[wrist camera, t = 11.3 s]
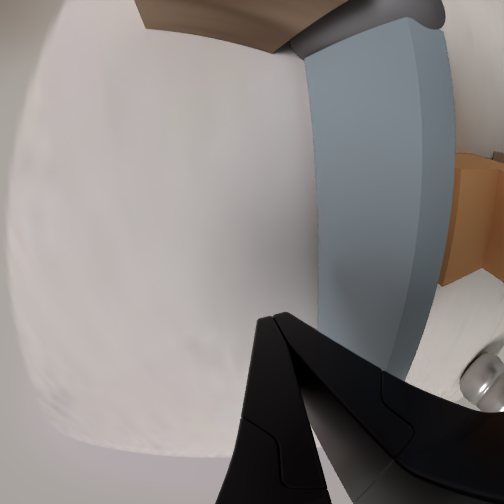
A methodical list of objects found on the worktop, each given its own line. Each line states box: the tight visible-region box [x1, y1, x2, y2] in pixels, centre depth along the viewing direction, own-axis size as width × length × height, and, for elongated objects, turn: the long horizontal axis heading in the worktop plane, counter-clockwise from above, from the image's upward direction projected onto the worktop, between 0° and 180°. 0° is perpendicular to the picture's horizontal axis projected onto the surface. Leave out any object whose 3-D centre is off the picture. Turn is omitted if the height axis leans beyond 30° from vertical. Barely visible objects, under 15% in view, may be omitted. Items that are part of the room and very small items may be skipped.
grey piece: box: [290, 0, 455, 381], centre depth 8 cm, size 15×2×6 cm, turn 7°
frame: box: [135, 0, 504, 164], centre depth 8 cm, size 26×2×6 cm, turn 75°
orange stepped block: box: [438, 153, 504, 287], centre depth 10 cm, size 10×5×6 cm, turn 97°
